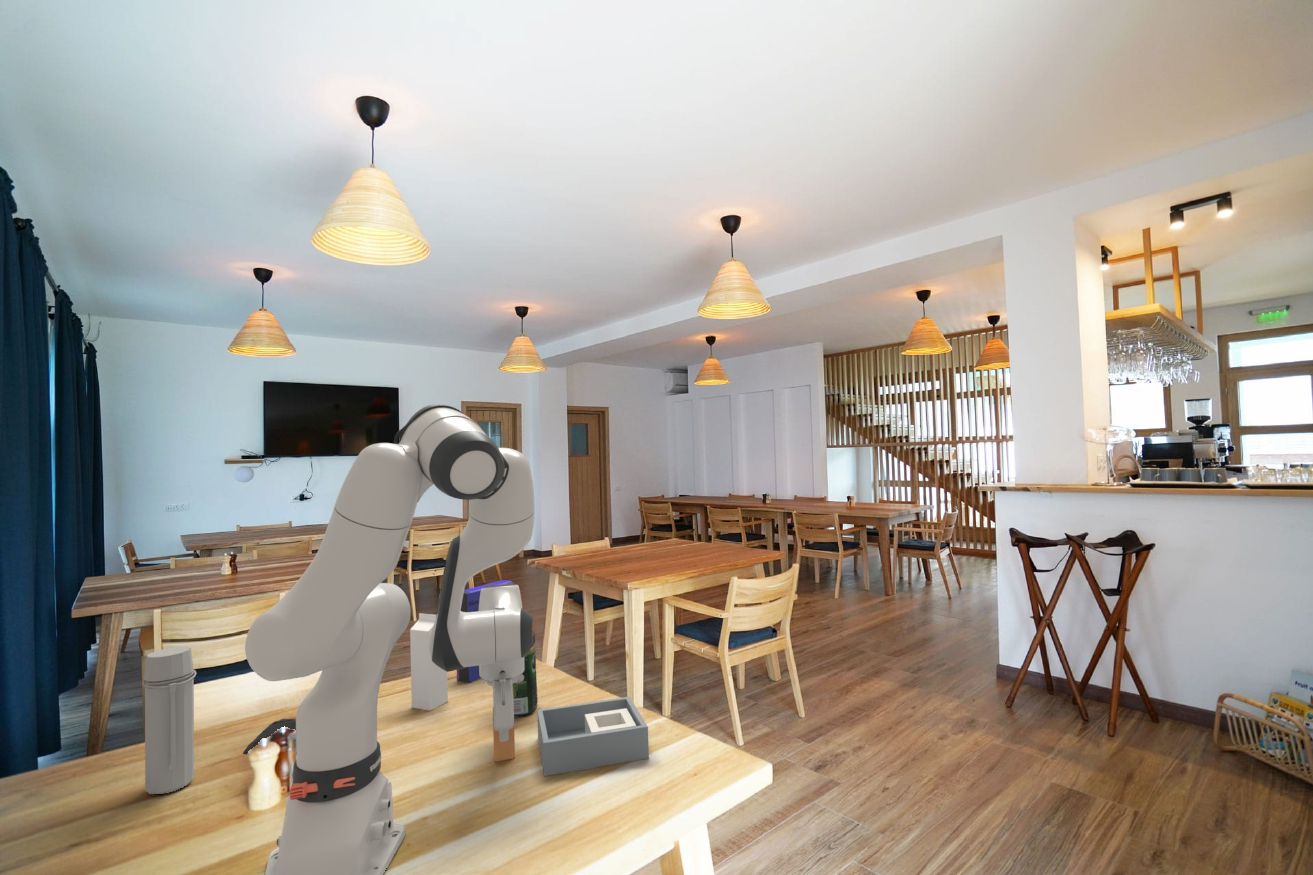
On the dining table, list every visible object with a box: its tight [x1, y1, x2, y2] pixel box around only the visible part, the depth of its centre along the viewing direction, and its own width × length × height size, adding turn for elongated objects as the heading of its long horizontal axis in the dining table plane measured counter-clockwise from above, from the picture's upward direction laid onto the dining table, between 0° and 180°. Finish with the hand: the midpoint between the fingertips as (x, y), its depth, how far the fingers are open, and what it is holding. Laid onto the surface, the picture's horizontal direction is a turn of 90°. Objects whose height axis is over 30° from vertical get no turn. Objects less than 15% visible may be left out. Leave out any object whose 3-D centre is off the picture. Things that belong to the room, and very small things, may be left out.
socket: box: [585, 708, 636, 734], centre depth 123 cm, size 9×9×4 cm
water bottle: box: [141, 646, 197, 795], centre depth 112 cm, size 9×8×25 cm
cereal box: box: [456, 579, 514, 684], centre depth 170 cm, size 17×5×24 cm, turn 150°
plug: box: [492, 704, 516, 762], centre depth 120 cm, size 4×4×10 cm
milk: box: [409, 612, 449, 712], centre depth 148 cm, size 6×6×22 cm
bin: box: [536, 696, 650, 777], centre depth 122 cm, size 16×20×6 cm
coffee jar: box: [512, 630, 538, 718], centre depth 143 cm, size 10×8×19 cm
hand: (503, 734), depth 120 cm, fingers closed on plug, 4 cm apart
